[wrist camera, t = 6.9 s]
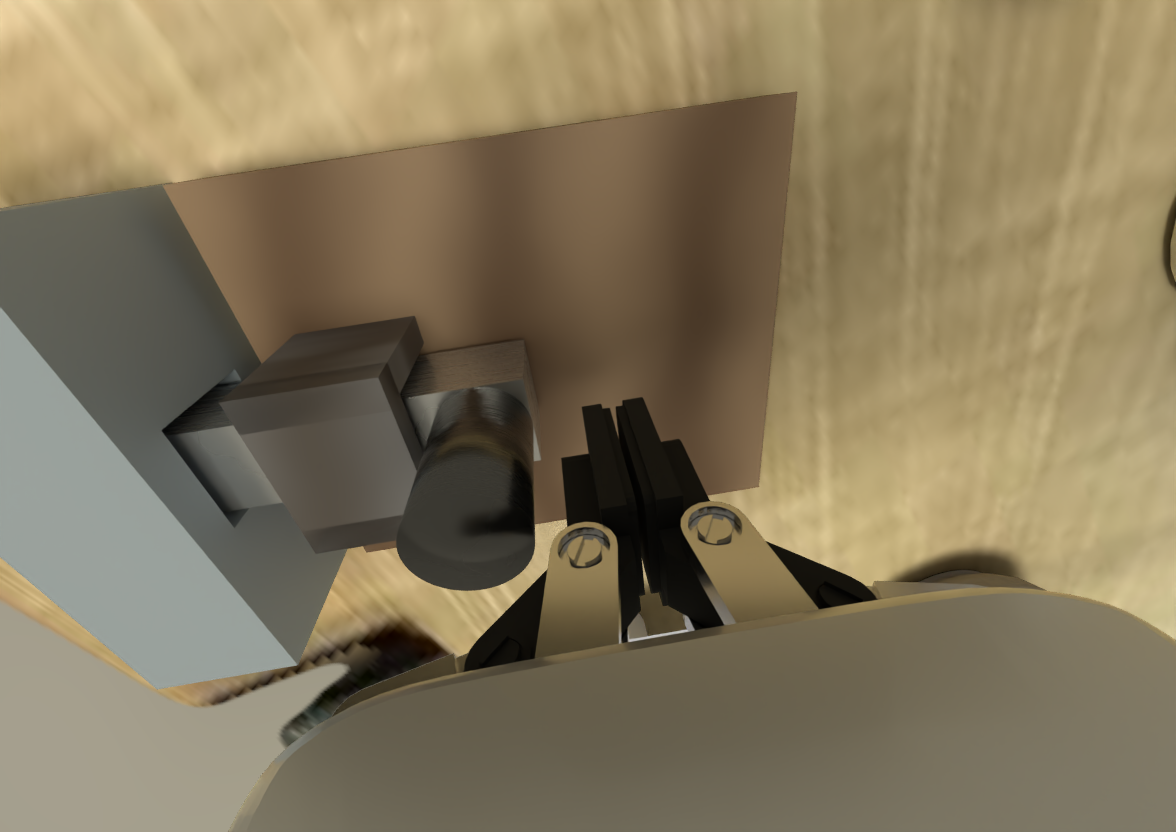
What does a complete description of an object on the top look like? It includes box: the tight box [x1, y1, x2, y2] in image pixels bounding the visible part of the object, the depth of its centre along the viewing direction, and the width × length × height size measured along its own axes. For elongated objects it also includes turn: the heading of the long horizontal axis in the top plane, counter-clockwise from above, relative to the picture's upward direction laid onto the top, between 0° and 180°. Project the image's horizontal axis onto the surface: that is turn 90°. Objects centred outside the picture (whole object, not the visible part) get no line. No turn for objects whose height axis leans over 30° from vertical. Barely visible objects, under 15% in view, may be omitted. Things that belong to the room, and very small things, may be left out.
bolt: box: [161, 339, 541, 591], centre depth 14 cm, size 12×3×8 cm, turn 97°
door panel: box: [163, 92, 797, 554], centre depth 16 cm, size 18×15×6 cm
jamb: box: [0, 183, 347, 689], centre depth 16 cm, size 5×15×7 cm, turn 7°
